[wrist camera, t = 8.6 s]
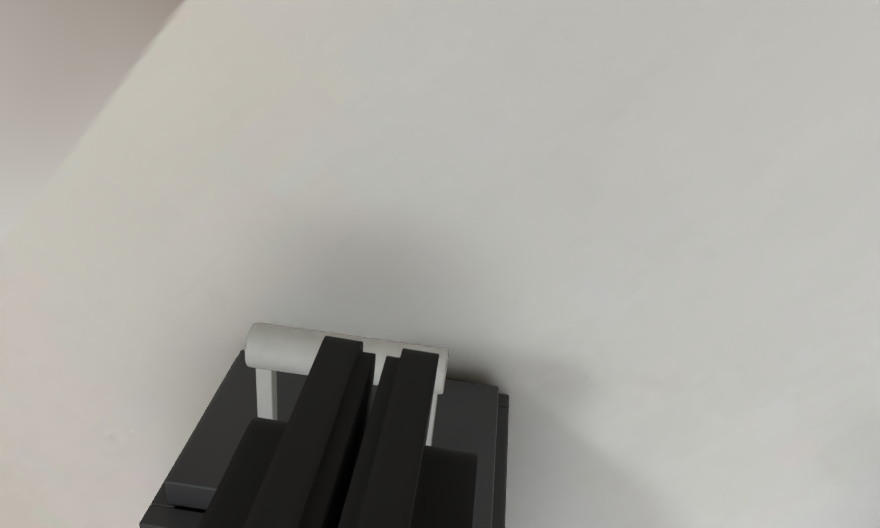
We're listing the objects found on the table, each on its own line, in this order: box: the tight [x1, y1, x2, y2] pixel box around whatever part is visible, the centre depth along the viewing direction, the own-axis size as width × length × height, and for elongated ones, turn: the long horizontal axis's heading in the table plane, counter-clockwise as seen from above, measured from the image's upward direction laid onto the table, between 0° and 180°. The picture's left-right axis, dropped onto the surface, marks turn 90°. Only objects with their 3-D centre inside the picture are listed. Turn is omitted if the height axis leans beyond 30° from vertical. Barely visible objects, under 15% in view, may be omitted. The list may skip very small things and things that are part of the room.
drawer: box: [165, 323, 499, 528], centre depth 31 cm, size 19×12×8 cm, turn 175°
